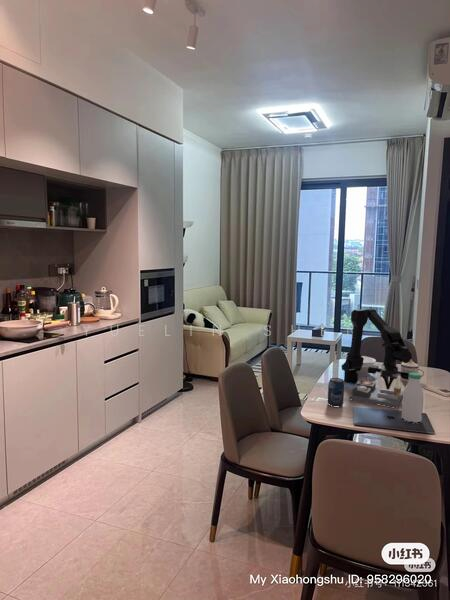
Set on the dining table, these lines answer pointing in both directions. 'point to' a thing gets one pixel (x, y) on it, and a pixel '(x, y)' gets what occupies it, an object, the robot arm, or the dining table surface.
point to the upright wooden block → (397, 391)
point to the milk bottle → (413, 399)
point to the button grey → (362, 388)
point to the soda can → (336, 392)
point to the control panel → (375, 395)
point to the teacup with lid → (410, 369)
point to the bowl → (366, 365)
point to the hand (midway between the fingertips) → (388, 389)
